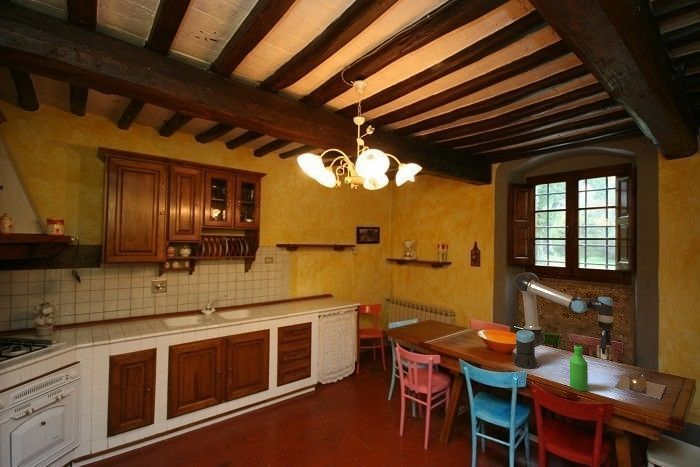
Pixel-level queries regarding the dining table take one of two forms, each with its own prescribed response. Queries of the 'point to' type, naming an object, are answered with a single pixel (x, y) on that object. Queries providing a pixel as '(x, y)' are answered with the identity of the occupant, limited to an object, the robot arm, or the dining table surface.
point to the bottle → (578, 371)
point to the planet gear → (609, 352)
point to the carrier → (641, 386)
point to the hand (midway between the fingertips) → (605, 357)
